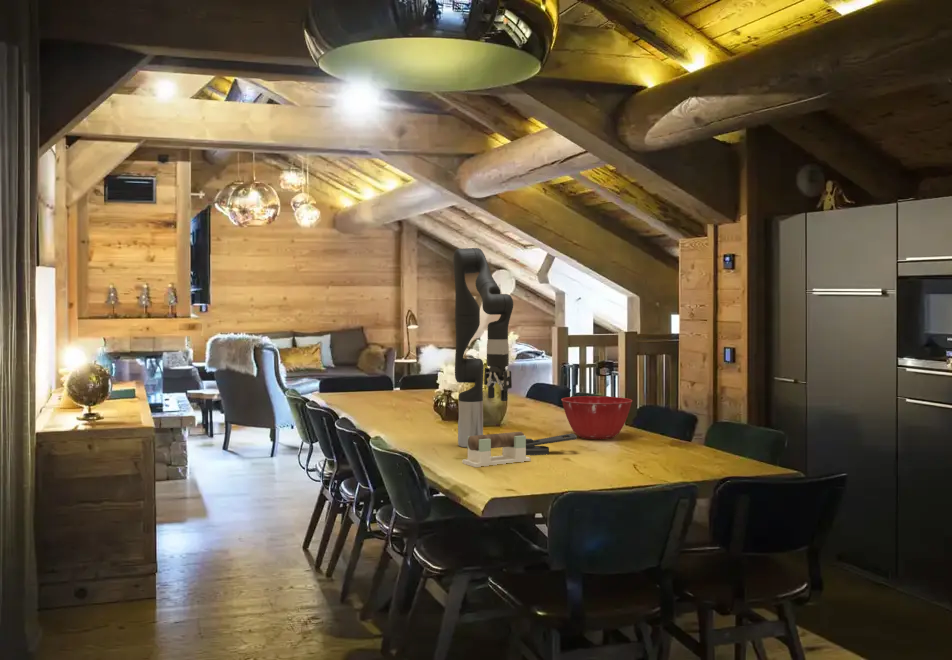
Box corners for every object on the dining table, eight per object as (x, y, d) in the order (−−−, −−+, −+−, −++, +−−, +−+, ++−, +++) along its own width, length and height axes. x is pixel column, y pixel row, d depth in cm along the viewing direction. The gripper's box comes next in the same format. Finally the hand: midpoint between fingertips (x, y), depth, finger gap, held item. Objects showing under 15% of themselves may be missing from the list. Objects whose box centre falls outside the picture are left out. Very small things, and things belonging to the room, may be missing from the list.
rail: (474, 451, 309) (474, 436, 309) (467, 449, 313) (467, 435, 313) (525, 446, 319) (524, 432, 319) (517, 444, 323) (517, 430, 323)
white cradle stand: (475, 467, 307) (475, 440, 307) (462, 463, 315) (462, 436, 314) (530, 461, 318) (530, 435, 318) (516, 457, 326) (516, 432, 325)
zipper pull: (579, 436, 332) (510, 437, 328) (578, 454, 332) (510, 456, 329) (573, 432, 340) (506, 434, 337) (573, 450, 341) (506, 452, 337)
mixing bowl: (561, 431, 388) (561, 394, 387) (629, 432, 385) (629, 395, 385) (561, 442, 360) (561, 402, 359) (634, 443, 357) (635, 403, 356)
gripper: (477, 351, 319) (477, 398, 320) (499, 354, 307) (499, 402, 308) (496, 350, 323) (496, 396, 324) (518, 353, 311) (518, 401, 312)
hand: (497, 399), depth 316 cm, fingers open, 8 cm apart
